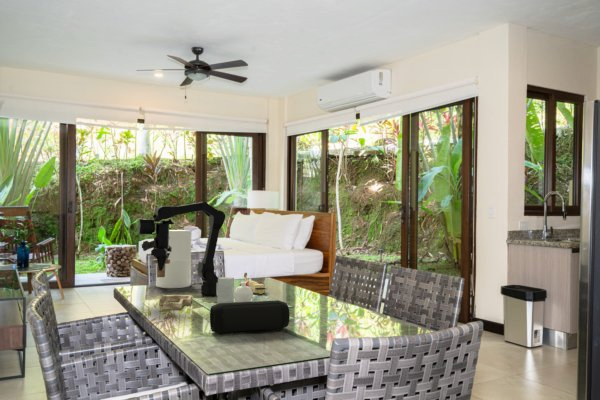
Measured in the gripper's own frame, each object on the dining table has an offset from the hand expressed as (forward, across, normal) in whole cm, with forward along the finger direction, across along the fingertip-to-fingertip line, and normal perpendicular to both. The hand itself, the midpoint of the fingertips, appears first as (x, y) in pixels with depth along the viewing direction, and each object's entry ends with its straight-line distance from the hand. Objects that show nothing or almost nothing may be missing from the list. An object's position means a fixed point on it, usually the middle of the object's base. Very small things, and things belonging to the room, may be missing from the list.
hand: (161, 269), depth 217 cm
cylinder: (+13, -36, +1) cm, 38 cm away
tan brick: (+3, 0, 0) cm, 3 cm away
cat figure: (+13, -21, +41) cm, 48 cm away
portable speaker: (+13, +57, +38) cm, 70 cm away
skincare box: (+13, +18, +29) cm, 36 cm away
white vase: (+13, +29, +36) cm, 48 cm away
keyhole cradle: (+13, +14, +8) cm, 20 cm away
